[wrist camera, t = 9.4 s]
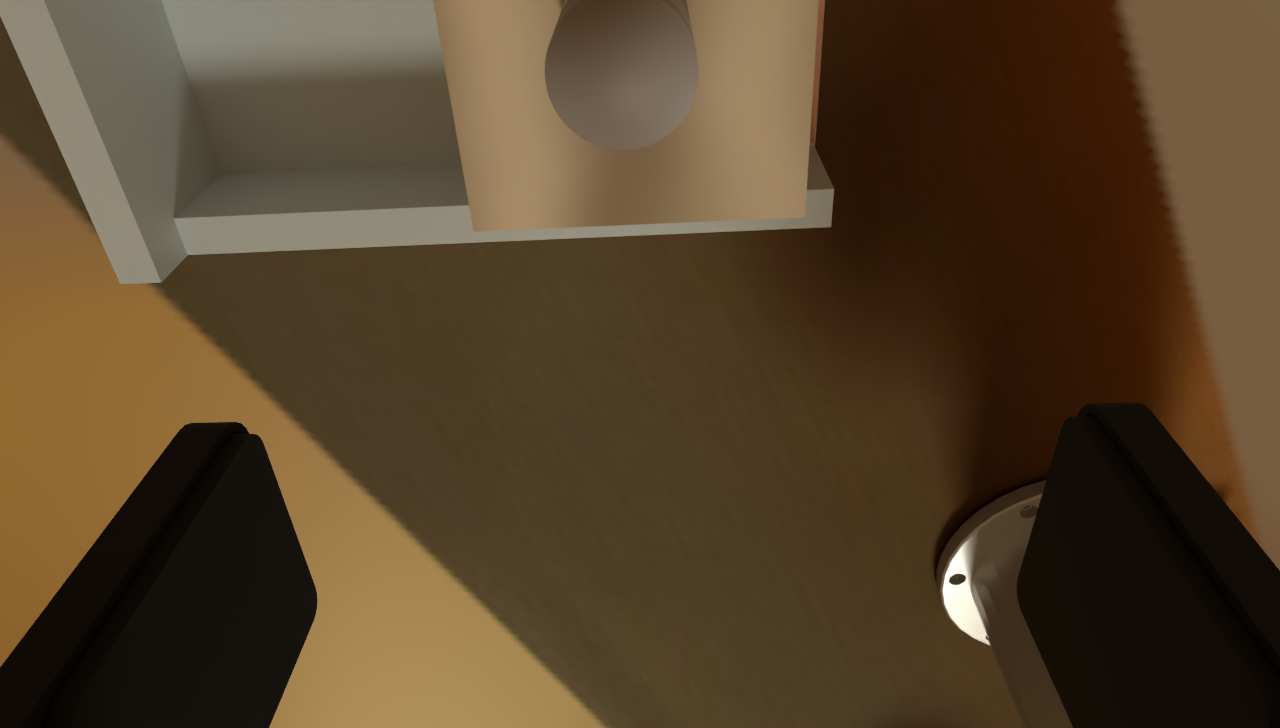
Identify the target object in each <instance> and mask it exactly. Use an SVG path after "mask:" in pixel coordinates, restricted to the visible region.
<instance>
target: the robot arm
mask: <svg viewBox="0 0 1280 728" xmlns="http://www.w3.org/2000/svg"><path fill="white" fill-rule="evenodd" d="M937 589H938V592H939V595H940V598H941V602H942V604H943V607H944V609H945V611H946V613H947V615H948V617H949V618H950V619H951V620H952V622H953V623H954V624H955V625H956V626H957V627H958V628H959V629H960V630H962V631H963V632H965V633H966V634H967V635H969V636H970V637H972V638H974V639H976V640H978V641H981V642H983V643H985V644H988V645H990V646H991V648H992V651H993V653H994V656H995V658H996V661H997V663H998V666H999V668H1000V671H1001V673H1002V676H1003V678H1004V681H1005V683H1006V686H1007V688H1008V691H1009V693H1010V696H1011V698H1012V701H1013V703H1014V706H1015V708H1016V711H1017V713H1018V716H1019V718H1020V721H1021V723H1022V726H1023V728H1280V571H1279V569H1278V568H1277V567H1276V566H1275V564H1274V563H1273V562H1272V561H1271V559H1270V558H1269V557H1268V556H1267V555H1266V553H1265V552H1264V551H1263V550H1262V548H1261V547H1260V546H1259V545H1258V543H1257V542H1256V541H1255V540H1254V538H1253V537H1252V536H1251V535H1250V533H1249V532H1248V531H1247V530H1246V528H1245V527H1244V526H1243V525H1242V523H1241V522H1240V521H1239V520H1238V518H1237V517H1236V516H1235V515H1234V514H1233V512H1232V511H1231V510H1230V509H1229V507H1228V506H1227V505H1226V504H1225V502H1224V501H1223V500H1222V499H1221V497H1220V496H1219V495H1218V494H1217V492H1216V491H1215V490H1214V489H1213V487H1212V486H1211V485H1210V484H1209V482H1208V481H1207V480H1206V479H1205V478H1204V476H1203V475H1202V474H1201V473H1200V471H1199V470H1198V469H1197V468H1196V466H1195V465H1194V464H1193V463H1192V461H1191V460H1190V459H1189V458H1188V456H1187V455H1186V454H1185V453H1184V451H1183V450H1182V449H1181V448H1180V446H1179V445H1178V444H1177V443H1176V442H1175V440H1174V439H1173V438H1172V437H1171V435H1170V434H1169V433H1168V432H1167V430H1166V429H1165V428H1164V427H1163V425H1162V424H1161V423H1160V422H1159V420H1158V419H1157V418H1156V417H1155V415H1154V414H1153V413H1152V412H1151V410H1149V409H1148V408H1147V407H1146V406H1145V405H1143V404H1140V403H1104V404H1088V405H1085V406H1084V407H1083V408H1082V409H1081V410H1080V411H1079V413H1078V416H1077V417H1070V418H1067V419H1066V420H1065V422H1064V424H1063V426H1062V429H1061V432H1060V435H1059V439H1058V442H1057V446H1056V449H1055V453H1054V456H1053V459H1052V463H1051V466H1050V470H1049V473H1048V476H1047V480H1044V481H1041V482H1037V483H1034V484H1031V485H1027V486H1024V487H1021V488H1019V489H1017V490H1015V491H1013V492H1010V493H1008V494H1006V495H1004V496H1001V497H999V498H998V499H996V500H995V501H993V502H991V503H990V504H988V505H987V506H985V507H983V508H982V509H980V510H979V511H978V512H977V513H975V514H974V515H973V516H972V517H971V518H969V519H968V520H967V521H966V522H965V523H963V524H962V526H961V527H960V528H959V529H958V530H957V531H956V533H955V534H954V535H953V536H952V537H951V538H950V540H949V542H948V543H947V545H946V547H945V549H944V551H943V552H942V554H941V557H940V560H939V564H938V567H937ZM316 609H317V592H316V588H315V585H314V582H313V580H312V577H311V575H310V571H309V569H308V566H307V563H306V561H305V558H304V555H303V552H302V549H301V546H300V543H299V541H298V538H297V535H296V532H295V530H294V527H293V524H292V521H291V519H290V516H289V513H288V510H287V508H286V505H285V502H284V499H283V496H282V494H281V491H280V488H279V485H278V482H277V480H276V477H275V474H274V471H273V469H272V466H271V463H270V460H269V458H268V455H267V452H266V449H265V446H264V444H263V442H262V440H261V438H260V437H259V436H258V435H255V434H249V433H248V431H247V429H246V428H245V427H244V426H243V425H242V424H241V423H237V422H224V423H223V422H219V423H190V424H187V425H185V426H184V427H183V428H182V429H181V430H179V432H178V433H177V434H176V436H175V437H174V438H173V440H172V441H171V442H170V444H169V445H168V446H167V448H166V449H165V450H164V451H163V453H162V454H161V455H160V457H159V458H158V460H157V461H156V462H155V464H154V465H153V466H152V467H151V469H150V470H149V471H148V473H147V474H146V475H145V477H144V478H143V479H142V481H141V482H140V483H139V485H138V486H137V487H136V489H135V490H134V491H133V493H132V494H131V495H130V497H129V498H128V499H127V501H126V502H125V503H124V504H123V506H122V507H121V508H120V510H119V511H118V512H117V514H116V515H115V516H114V518H113V519H112V520H111V522H110V523H109V524H108V526H107V527H106V528H105V530H104V531H103V532H102V534H101V535H100V536H99V538H98V539H97V540H96V542H95V543H94V544H93V546H92V547H91V548H90V550H89V551H88V552H87V554H86V555H85V556H84V557H83V559H82V560H81V561H80V563H79V564H78V566H77V567H76V568H75V569H74V571H73V572H72V573H71V575H70V576H69V577H68V579H67V580H66V581H65V583H64V584H63V585H62V587H61V588H60V589H59V591H58V592H57V593H56V594H55V596H54V597H53V598H52V600H51V601H50V602H49V604H48V605H47V606H46V608H45V609H44V611H43V612H42V613H41V614H40V616H39V617H38V618H37V620H36V621H35V622H34V624H33V625H32V626H31V628H30V629H29V630H28V632H27V633H26V634H25V636H24V637H23V638H22V639H21V641H20V642H19V643H18V645H17V646H16V647H15V649H14V650H13V651H12V653H11V654H10V655H9V657H8V658H7V659H6V661H5V662H4V663H3V665H2V666H1V667H0V728H269V726H270V724H271V721H272V719H273V717H274V714H275V712H276V710H277V707H278V705H279V702H280V700H281V698H282V695H283V693H284V690H285V688H286V685H287V683H288V681H289V678H290V676H291V674H292V671H293V669H294V666H295V664H296V662H297V659H298V657H299V654H300V652H301V650H302V647H303V645H304V643H305V640H306V637H307V635H308V633H309V631H310V628H311V626H312V623H313V621H314V618H315V614H316Z"/></svg>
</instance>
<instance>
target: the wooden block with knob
mask: <svg viewBox="0 0 1280 728" xmlns="http://www.w3.org/2000/svg"><path fill="white" fill-rule="evenodd" d="M433 3H434V9H435V14H436V20H437V26H438V32H439V37H440V43H441V49H442V54H443V60H444V66H445V72H446V77H447V83H448V89H449V94H450V100H451V106H452V112H453V117H454V123H455V129H456V134H457V140H458V146H459V151H460V157H461V163H462V169H463V174H464V180H465V186H466V191H467V197H468V203H469V209H470V214H471V220H472V226H473V231H474V232H479V231H502V230H525V229H548V228H571V227H594V226H616V225H639V224H662V223H685V222H708V221H731V220H754V219H777V218H800V217H805V208H806V192H807V177H808V161H809V145H810V130H811V114H812V99H813V83H814V67H815V52H816V36H817V20H818V5H819V0H433Z"/></svg>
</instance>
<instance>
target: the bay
mask: <svg viewBox="0 0 1280 728" xmlns="http://www.w3.org/2000/svg"><path fill="white" fill-rule="evenodd" d="M824 8H825V0H819V5H818V20H817V36H816V52H815V67H814V83H813V99H812V114H811V130H810V145H809V161H808V177H807V192H806V208H805V217H800V218H777V219H754V220H731V221H708V222H685V223H662V224H639V225H616V226H594V227H571V228H548V229H525V230H502V231H479V232H474V231H473V226H472V220H471V214H470V209H469V203H468V197H467V191H466V186H465V180H464V174H463V169H462V163H461V157H460V151H459V146H458V140H457V134H456V129H455V123H454V117H453V112H452V106H451V100H450V94H449V89H448V83H447V77H446V72H445V66H444V60H443V54H442V49H441V43H440V37H439V32H438V26H437V20H436V14H435V9H434V3H433V0H0V16H1V19H2V21H3V23H4V25H5V27H6V30H7V32H8V34H9V36H10V39H11V41H12V43H13V45H14V48H15V50H16V52H17V54H18V57H19V59H20V61H21V63H22V65H23V68H24V70H25V72H26V74H27V77H28V79H29V81H30V83H31V86H32V88H33V90H34V92H35V95H36V97H37V99H38V101H39V103H40V106H41V108H42V110H43V112H44V115H45V117H46V119H47V121H48V124H49V126H50V128H51V130H52V133H53V135H54V137H55V139H56V141H57V144H58V146H59V148H60V150H61V153H62V155H63V157H64V159H65V162H66V164H67V166H68V168H69V171H70V173H71V175H72V177H73V179H74V182H75V184H76V186H77V188H78V191H79V193H80V195H81V197H82V200H83V202H84V204H85V206H86V209H87V211H88V213H89V215H90V217H91V220H92V222H93V224H94V226H95V229H96V231H97V233H98V235H99V238H100V240H101V242H102V244H103V247H104V249H105V251H106V253H107V255H108V258H109V260H110V262H111V264H112V267H113V269H114V271H115V273H116V275H117V278H118V280H119V282H120V284H135V283H159V282H162V281H163V280H164V279H165V278H166V277H167V276H168V275H169V274H170V273H171V272H172V271H173V270H174V269H175V268H176V267H177V266H178V265H179V264H180V262H181V261H182V260H183V259H184V258H185V257H186V256H187V255H197V254H221V253H244V252H267V251H290V250H313V249H336V248H359V247H382V246H405V245H428V244H451V243H475V242H498V241H521V240H544V239H567V238H590V237H613V236H636V235H659V234H682V233H706V232H729V231H752V230H775V229H798V228H821V227H831V221H832V209H833V197H834V188H833V185H832V183H831V181H830V179H829V177H828V175H827V172H826V170H825V168H824V166H823V164H822V162H821V159H820V157H819V155H818V153H817V151H816V149H815V141H816V126H817V112H818V97H819V82H820V67H821V53H822V38H823V23H824Z"/></svg>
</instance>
